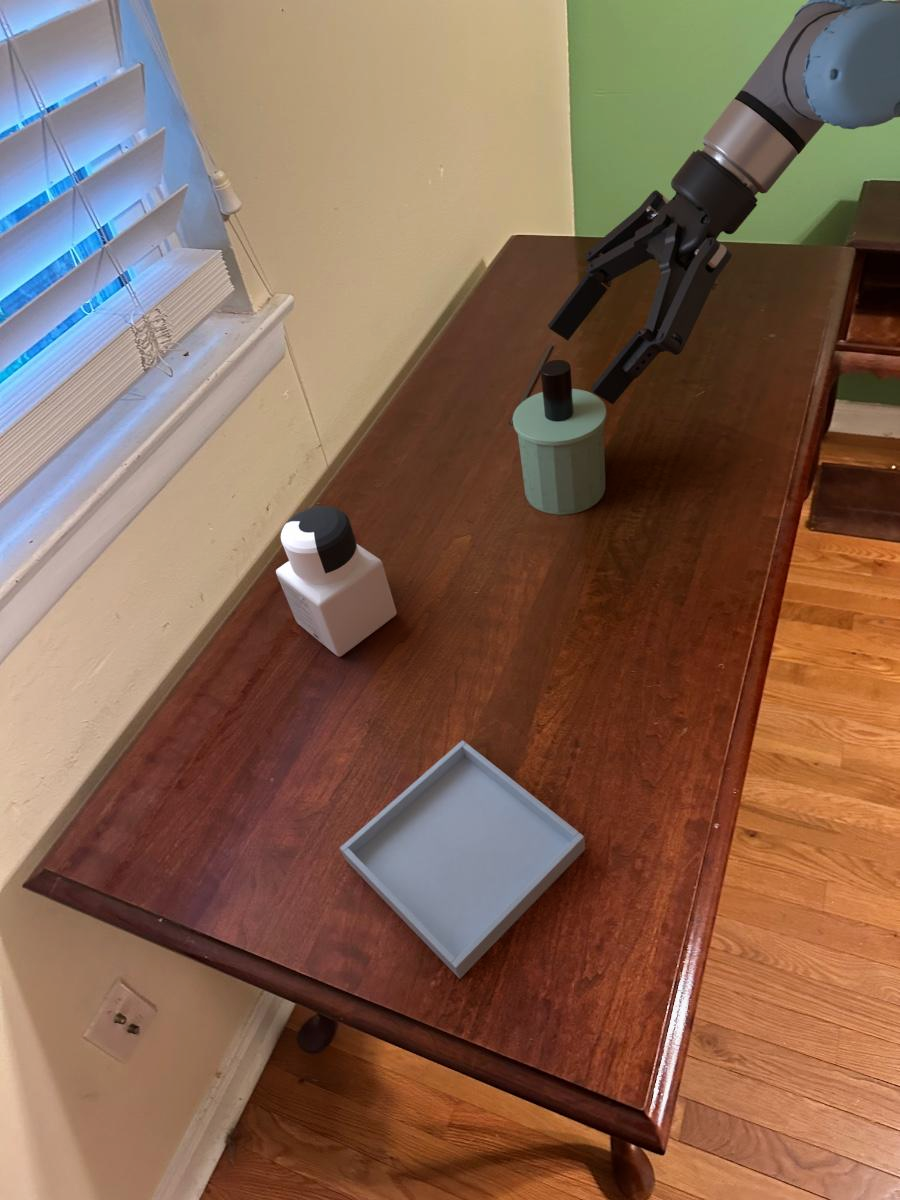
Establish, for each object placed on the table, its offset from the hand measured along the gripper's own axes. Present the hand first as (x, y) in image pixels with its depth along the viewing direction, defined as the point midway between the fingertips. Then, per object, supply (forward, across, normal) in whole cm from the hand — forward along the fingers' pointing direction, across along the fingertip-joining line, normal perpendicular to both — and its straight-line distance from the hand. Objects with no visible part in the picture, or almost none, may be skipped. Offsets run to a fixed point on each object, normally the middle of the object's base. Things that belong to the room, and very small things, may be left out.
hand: (578, 363), depth 86 cm
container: (+32, -11, +10) cm, 35 cm away
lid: (+6, 0, -2) cm, 6 cm away
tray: (+28, -40, +6) cm, 49 cm away
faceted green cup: (+12, 0, -9) cm, 15 cm away
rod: (+11, +23, -12) cm, 28 cm away
